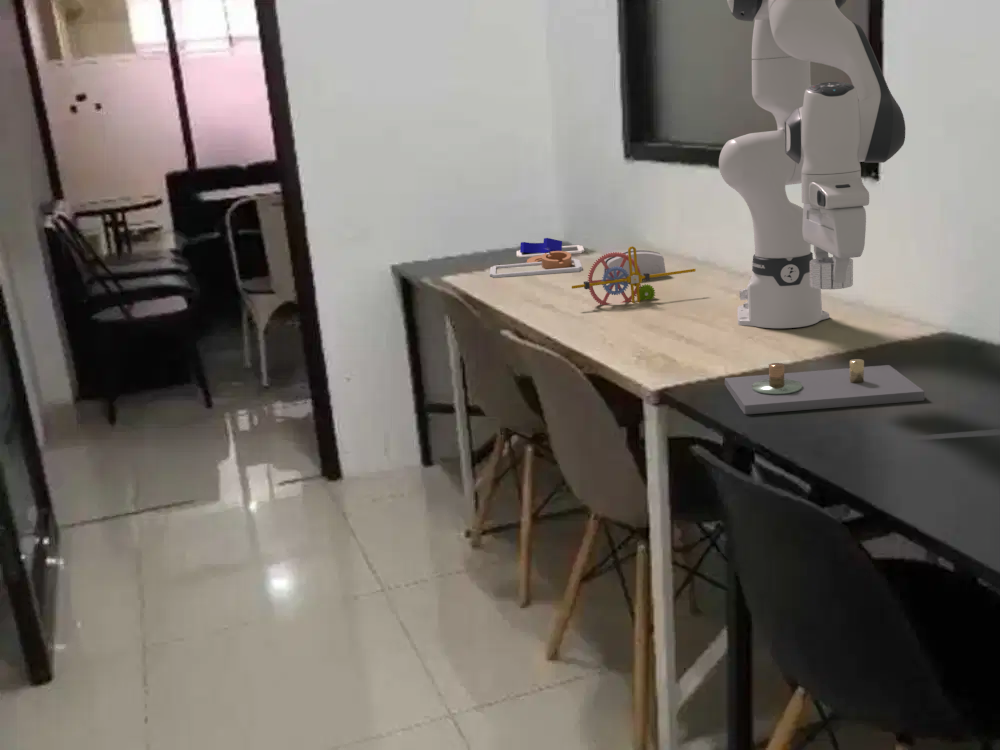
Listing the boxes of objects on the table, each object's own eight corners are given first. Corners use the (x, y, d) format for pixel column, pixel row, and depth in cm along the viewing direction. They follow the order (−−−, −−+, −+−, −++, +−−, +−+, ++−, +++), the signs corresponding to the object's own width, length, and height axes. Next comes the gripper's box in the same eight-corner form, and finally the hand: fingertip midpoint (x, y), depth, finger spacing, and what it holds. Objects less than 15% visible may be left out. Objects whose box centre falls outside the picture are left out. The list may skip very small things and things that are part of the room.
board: (724, 386, 181) (724, 378, 180) (888, 373, 180) (888, 365, 179) (744, 414, 165) (744, 405, 165) (924, 400, 164) (924, 391, 164)
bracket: (577, 280, 294) (576, 256, 291) (551, 286, 291) (550, 263, 288) (547, 262, 309) (546, 239, 306) (522, 268, 306) (520, 245, 303)
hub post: (747, 383, 176) (746, 360, 175) (795, 379, 176) (794, 356, 175) (758, 396, 169) (757, 373, 168) (808, 392, 168) (807, 369, 167)
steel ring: (805, 283, 171) (805, 259, 170) (844, 280, 171) (844, 255, 170) (817, 290, 165) (816, 265, 163) (857, 287, 164) (858, 262, 163)
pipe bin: (491, 279, 300) (490, 265, 299) (579, 272, 299) (578, 258, 298) (490, 289, 286) (489, 275, 284) (583, 282, 285) (582, 267, 284)
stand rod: (847, 380, 173) (847, 359, 172) (861, 379, 173) (861, 358, 172) (852, 383, 171) (852, 363, 170) (865, 382, 171) (865, 362, 170)
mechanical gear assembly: (575, 318, 242) (570, 254, 238) (570, 315, 246) (565, 252, 242) (697, 302, 247) (695, 239, 243) (691, 299, 251) (688, 237, 247)
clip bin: (517, 263, 325) (516, 250, 323) (582, 257, 324) (581, 244, 323) (517, 269, 313) (516, 256, 312) (585, 264, 312) (584, 250, 311)
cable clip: (534, 260, 322) (519, 257, 318) (535, 245, 322) (520, 242, 318) (561, 256, 312) (546, 252, 308) (562, 241, 313) (547, 237, 309)
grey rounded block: (662, 281, 276) (661, 245, 272) (667, 286, 271) (667, 249, 268) (600, 289, 273) (599, 252, 270) (605, 294, 269) (604, 256, 265)
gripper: (792, 186, 174) (793, 268, 177) (830, 198, 154) (830, 291, 158) (830, 182, 174) (830, 265, 177) (873, 194, 154) (873, 287, 157)
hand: (831, 277), depth 167 cm, fingers closed on steel ring, 6 cm apart
